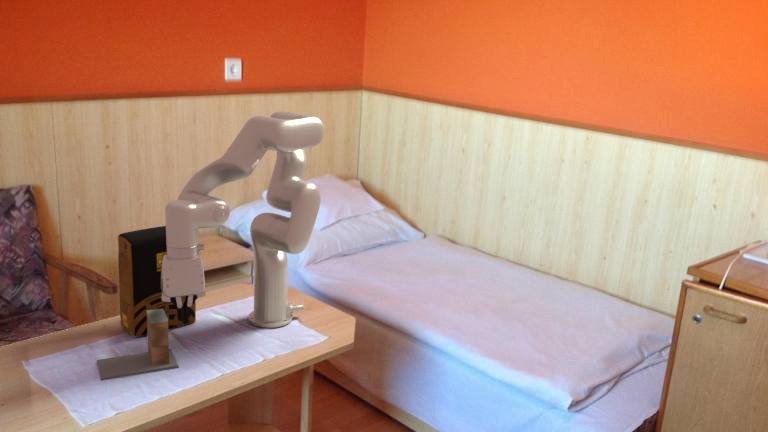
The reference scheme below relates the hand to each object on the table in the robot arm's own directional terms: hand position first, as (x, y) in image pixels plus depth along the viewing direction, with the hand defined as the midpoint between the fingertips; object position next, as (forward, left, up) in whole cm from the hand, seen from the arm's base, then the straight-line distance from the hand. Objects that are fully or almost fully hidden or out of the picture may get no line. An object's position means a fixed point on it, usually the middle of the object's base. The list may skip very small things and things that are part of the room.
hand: (184, 320), depth 182 cm
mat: (+12, 0, -10) cm, 15 cm away
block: (+6, 0, -10) cm, 12 cm away
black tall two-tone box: (+3, -22, -11) cm, 25 cm away
